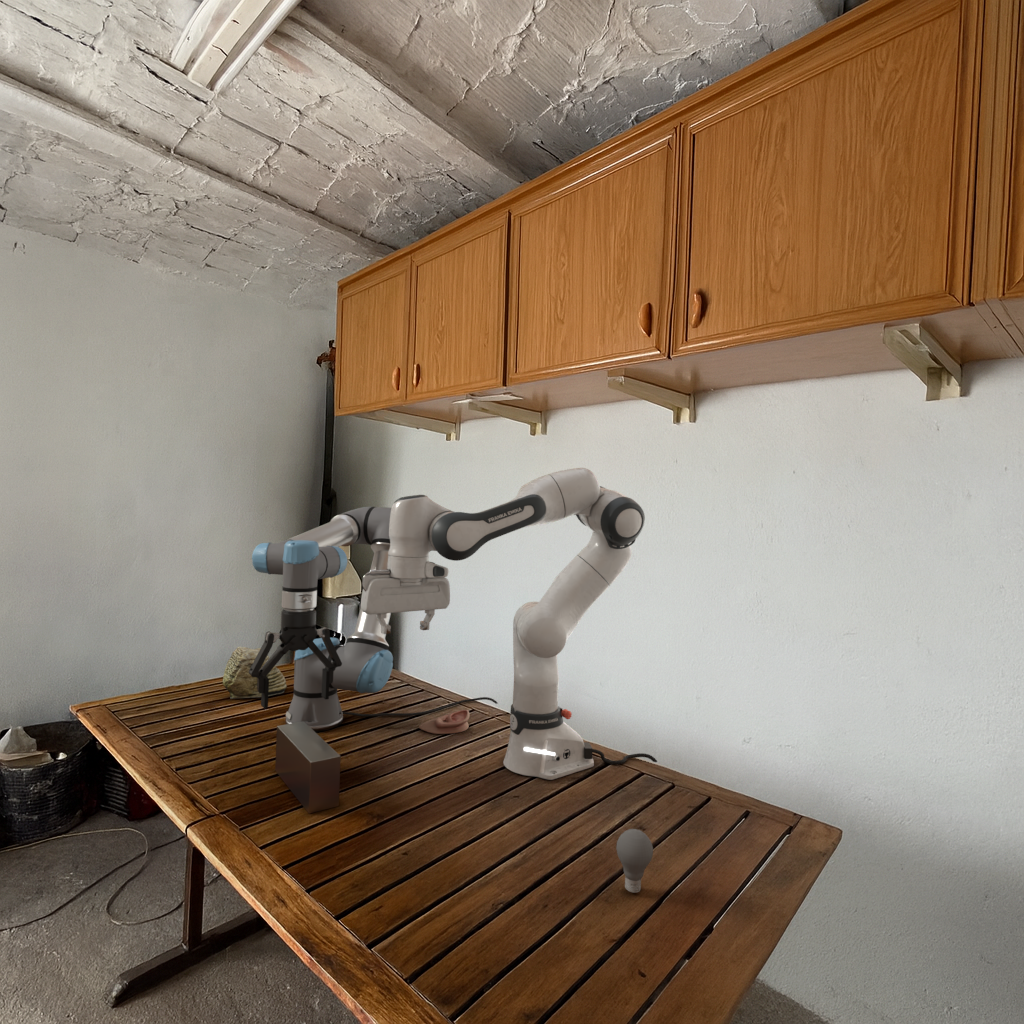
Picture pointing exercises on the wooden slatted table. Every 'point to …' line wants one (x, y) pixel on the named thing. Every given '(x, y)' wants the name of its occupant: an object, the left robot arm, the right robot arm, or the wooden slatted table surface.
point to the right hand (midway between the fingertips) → (405, 631)
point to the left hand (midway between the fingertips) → (295, 702)
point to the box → (308, 766)
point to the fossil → (242, 681)
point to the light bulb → (634, 857)
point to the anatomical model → (447, 723)
